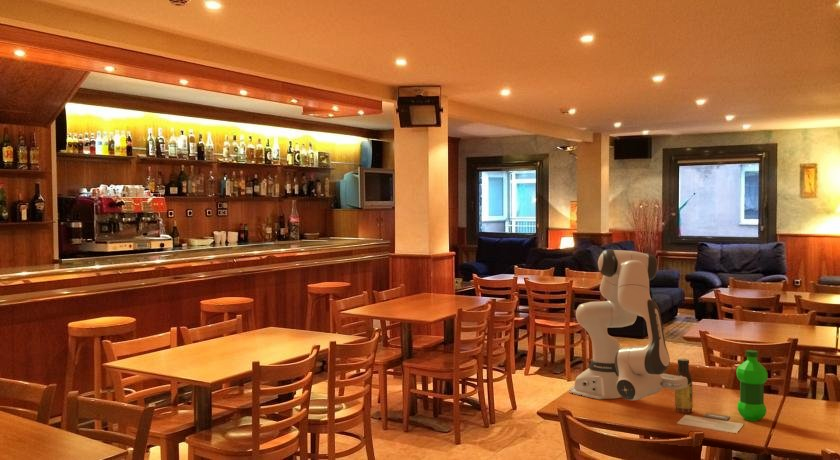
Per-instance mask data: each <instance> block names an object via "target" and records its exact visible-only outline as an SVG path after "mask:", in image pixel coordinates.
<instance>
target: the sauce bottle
mask: <svg viewBox="0 0 840 460" xmlns="http://www.w3.org/2000/svg"><path fill="white" fill-rule="evenodd" d="M689 364H690V360H689V359H688V358H678V359H677V365H678V366H677V370H678V371H677V373H676V374H675V375H676V376H677V375H681V376H683V377H686V378H687V380H688V386H687V388H683V389H678V390H674V407H675V411H676V412H677V413H681V414H690V413H692V412H693V405H694V403H693V401H694V400H693V395H694V394H693V378H692V376H691V373H690V368H689V367H690V366H689Z"/></svg>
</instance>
